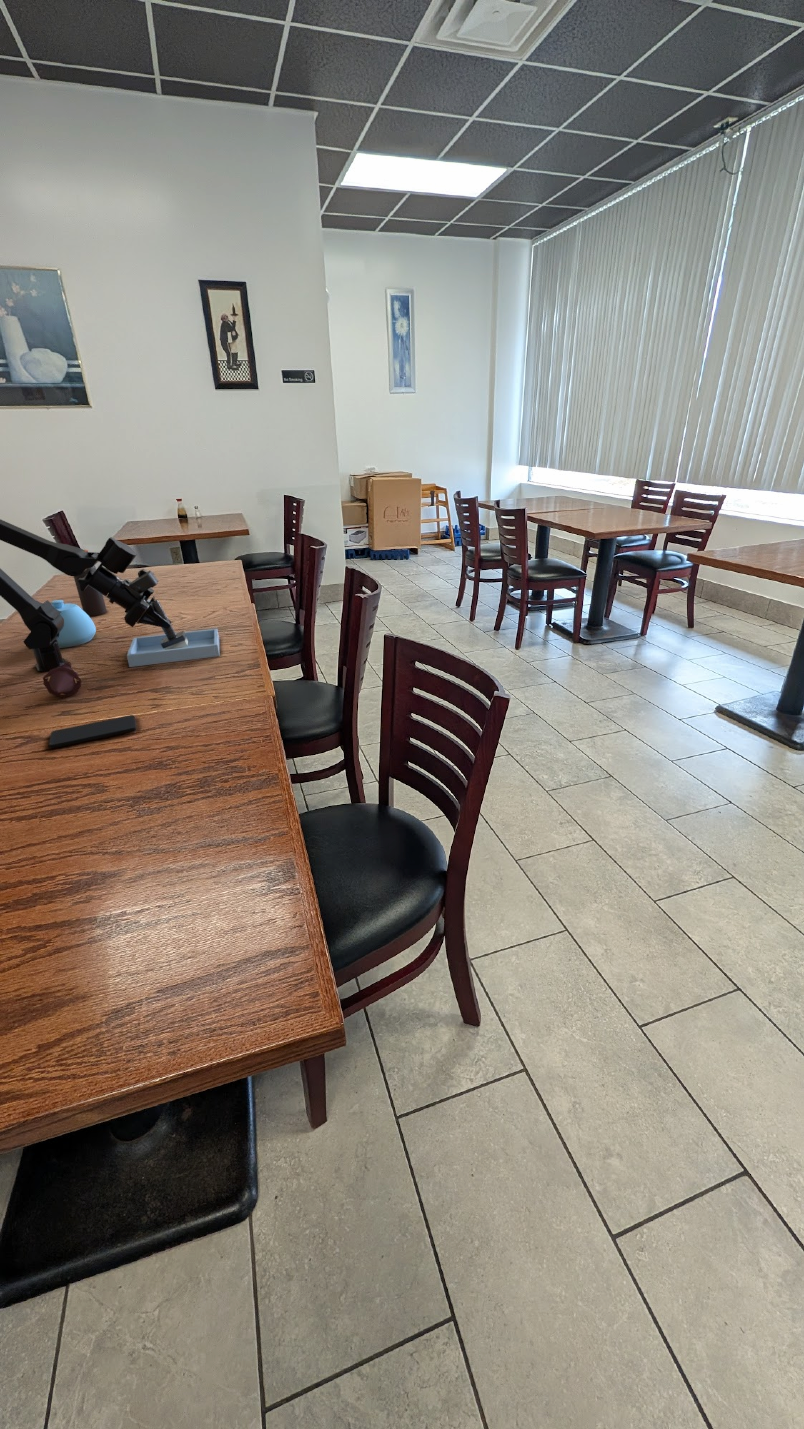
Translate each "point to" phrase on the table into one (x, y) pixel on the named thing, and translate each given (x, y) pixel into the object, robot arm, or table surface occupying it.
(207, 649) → the tray
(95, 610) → the bottle
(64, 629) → the sugar bowl
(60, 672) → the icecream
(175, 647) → the brush
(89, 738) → the smartphone
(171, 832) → the table surface
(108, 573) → the robot arm
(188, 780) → the table surface
